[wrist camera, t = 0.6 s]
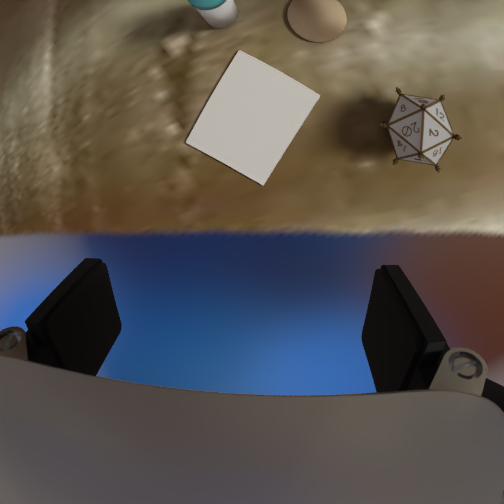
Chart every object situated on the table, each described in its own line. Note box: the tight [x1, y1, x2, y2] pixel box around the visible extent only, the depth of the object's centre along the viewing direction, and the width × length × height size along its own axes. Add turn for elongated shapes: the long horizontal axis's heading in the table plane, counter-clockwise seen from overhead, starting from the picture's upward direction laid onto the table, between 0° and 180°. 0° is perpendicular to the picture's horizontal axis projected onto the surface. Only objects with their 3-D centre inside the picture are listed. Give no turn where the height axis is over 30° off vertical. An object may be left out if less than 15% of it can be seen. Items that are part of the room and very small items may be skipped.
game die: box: [380, 87, 461, 172], centre depth 28 cm, size 9×8×10 cm
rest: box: [287, 0, 347, 43], centre depth 27 cm, size 6×6×1 cm
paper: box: [186, 50, 320, 185], centre depth 33 cm, size 12×10×1 cm
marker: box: [188, 0, 238, 28], centre depth 23 cm, size 4×4×9 cm
